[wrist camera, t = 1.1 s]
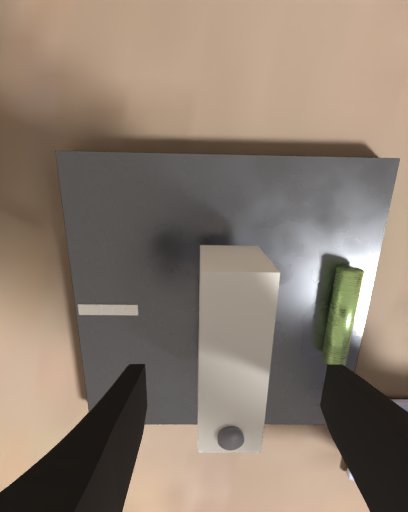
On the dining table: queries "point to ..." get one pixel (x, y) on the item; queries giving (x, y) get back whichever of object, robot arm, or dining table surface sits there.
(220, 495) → the dining table surface
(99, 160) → the base
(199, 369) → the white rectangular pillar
